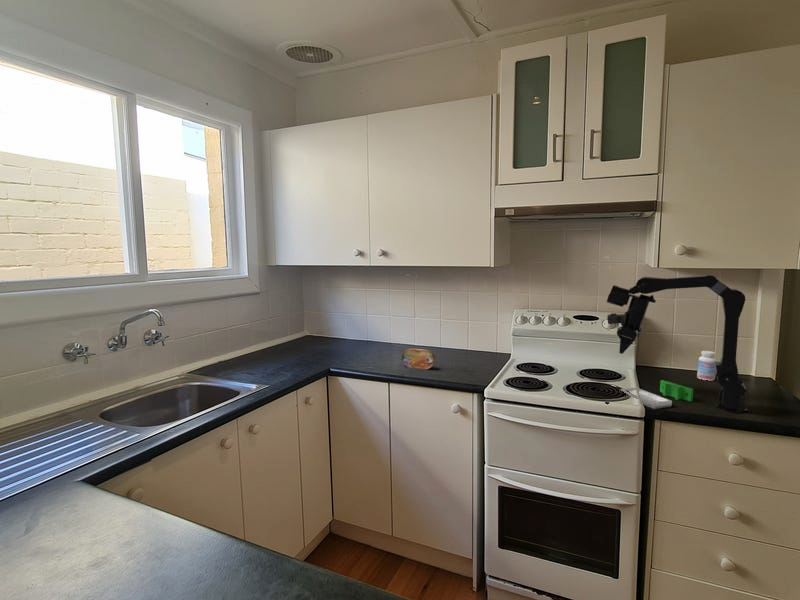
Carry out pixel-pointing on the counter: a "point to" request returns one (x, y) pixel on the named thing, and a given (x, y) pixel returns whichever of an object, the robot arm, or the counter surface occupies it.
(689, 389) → the pipe clamp
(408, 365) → the tin
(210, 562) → the counter surface
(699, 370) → the pill bottle
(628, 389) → the grey rectangular tray
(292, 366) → the counter surface
